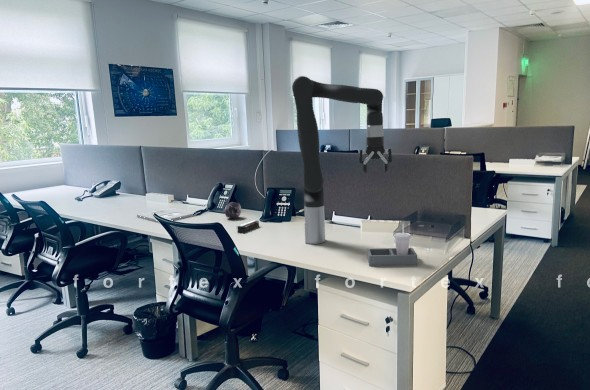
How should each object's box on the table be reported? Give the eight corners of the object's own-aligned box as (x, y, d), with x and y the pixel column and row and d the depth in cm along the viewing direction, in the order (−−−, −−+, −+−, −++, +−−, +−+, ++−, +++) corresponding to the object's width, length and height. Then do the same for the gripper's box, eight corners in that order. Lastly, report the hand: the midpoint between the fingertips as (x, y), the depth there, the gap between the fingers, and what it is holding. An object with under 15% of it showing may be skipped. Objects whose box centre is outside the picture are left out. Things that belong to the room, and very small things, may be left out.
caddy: (369, 266, 164) (369, 256, 163) (367, 258, 173) (367, 248, 172) (417, 265, 162) (417, 255, 161) (412, 257, 171) (412, 247, 171)
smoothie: (413, 257, 167) (413, 223, 165) (405, 262, 163) (406, 226, 160) (398, 254, 172) (398, 221, 169) (390, 258, 167) (390, 224, 165)
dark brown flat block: (227, 234, 222) (226, 226, 221) (255, 223, 243) (254, 216, 242) (249, 237, 214) (248, 229, 213) (276, 225, 235) (276, 218, 235)
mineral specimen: (235, 220, 248) (234, 204, 246) (221, 219, 253) (220, 203, 252) (245, 217, 256) (244, 201, 255) (231, 215, 262) (230, 200, 260)
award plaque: (171, 210, 288) (171, 207, 287) (196, 216, 267) (196, 212, 267) (137, 217, 270) (136, 214, 270) (161, 224, 250) (160, 220, 250)
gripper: (359, 136, 184) (359, 174, 186) (392, 135, 182) (392, 172, 185) (358, 136, 191) (358, 171, 194) (390, 134, 190) (390, 170, 193)
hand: (375, 172), depth 190 cm, fingers open, 8 cm apart
